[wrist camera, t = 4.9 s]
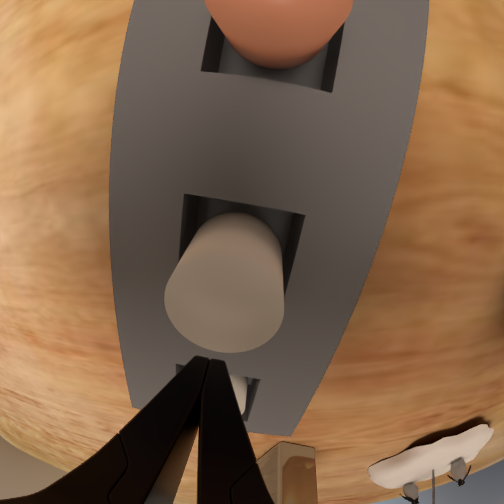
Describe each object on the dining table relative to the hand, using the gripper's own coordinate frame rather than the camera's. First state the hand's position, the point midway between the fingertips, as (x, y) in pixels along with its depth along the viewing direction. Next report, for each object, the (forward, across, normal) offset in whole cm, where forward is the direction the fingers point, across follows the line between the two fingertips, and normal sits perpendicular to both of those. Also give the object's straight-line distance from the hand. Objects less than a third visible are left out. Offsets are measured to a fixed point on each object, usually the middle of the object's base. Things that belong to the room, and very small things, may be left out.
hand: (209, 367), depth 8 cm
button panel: (+10, 0, 0) cm, 10 cm away
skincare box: (+10, -8, +25) cm, 28 cm away
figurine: (+10, -31, +28) cm, 43 cm away
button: (+6, 0, 0) cm, 6 cm away
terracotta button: (+6, 0, -10) cm, 12 cm away
